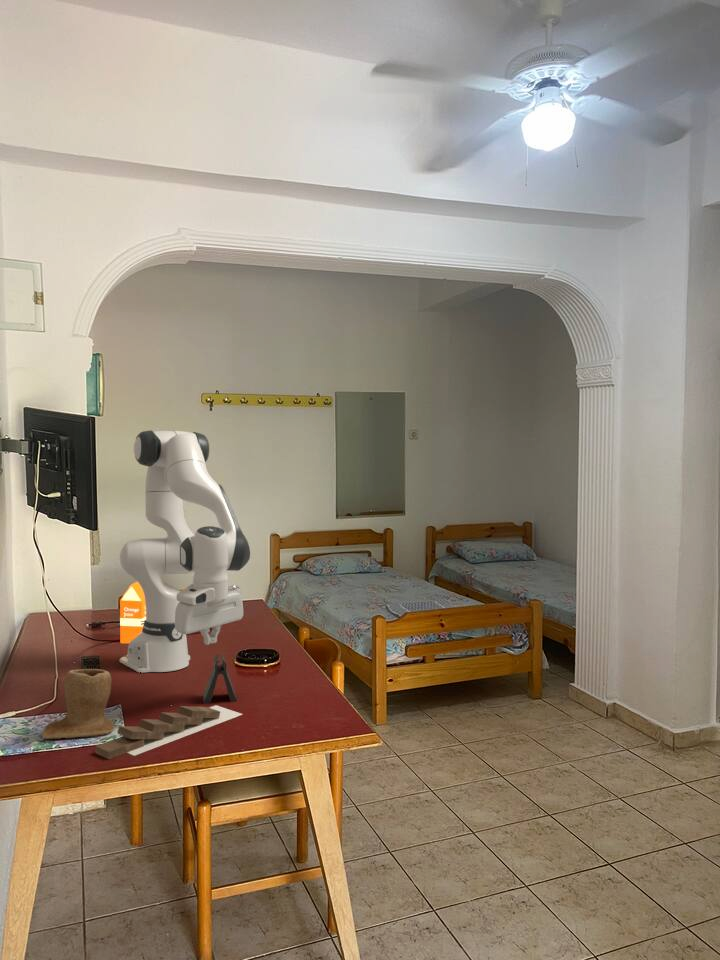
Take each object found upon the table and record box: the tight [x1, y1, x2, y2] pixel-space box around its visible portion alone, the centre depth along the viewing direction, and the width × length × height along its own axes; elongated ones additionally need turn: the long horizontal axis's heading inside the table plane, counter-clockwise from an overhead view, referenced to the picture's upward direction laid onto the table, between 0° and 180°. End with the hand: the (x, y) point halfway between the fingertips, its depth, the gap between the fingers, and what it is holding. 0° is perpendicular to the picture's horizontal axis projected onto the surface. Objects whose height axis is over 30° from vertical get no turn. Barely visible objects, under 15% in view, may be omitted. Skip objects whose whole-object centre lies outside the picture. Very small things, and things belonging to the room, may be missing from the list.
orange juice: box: [119, 581, 146, 644], centre depth 260 cm, size 8×9×20 cm
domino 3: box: [138, 718, 185, 732], centre depth 176 cm, size 2×5×9 cm
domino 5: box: [177, 705, 220, 718], centre depth 185 cm, size 2×5×9 cm
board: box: [126, 704, 243, 757], centre depth 180 cm, size 10×32×1 cm, turn 142°
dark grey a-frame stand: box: [202, 654, 238, 705], centre depth 200 cm, size 9×6×12 cm, turn 104°
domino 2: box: [117, 725, 165, 739], centre depth 171 cm, size 2×5×9 cm
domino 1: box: [94, 735, 144, 760], centre depth 167 cm, size 2×5×9 cm
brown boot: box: [42, 668, 115, 740], centre depth 178 cm, size 15×12×15 cm
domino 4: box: [158, 711, 203, 725], centre depth 180 cm, size 2×5×9 cm
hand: (210, 643), depth 197 cm, fingers closed
